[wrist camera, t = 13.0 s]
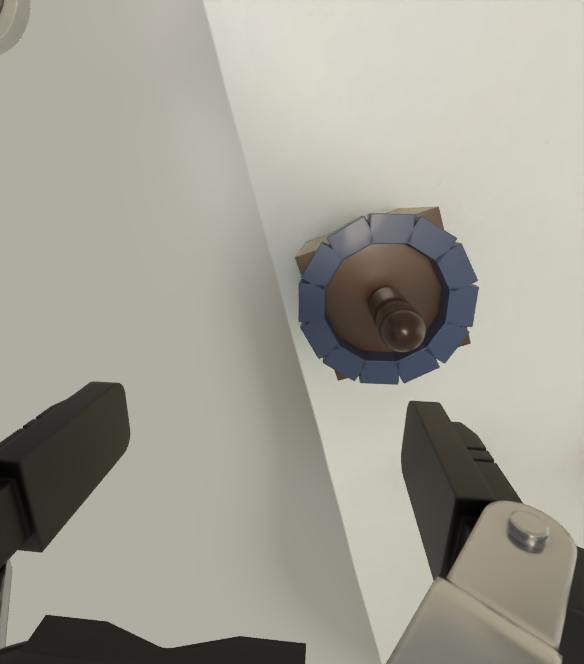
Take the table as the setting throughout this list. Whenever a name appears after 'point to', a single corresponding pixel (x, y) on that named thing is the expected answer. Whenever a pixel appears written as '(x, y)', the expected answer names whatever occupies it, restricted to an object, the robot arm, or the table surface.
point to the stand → (382, 293)
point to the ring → (441, 333)
